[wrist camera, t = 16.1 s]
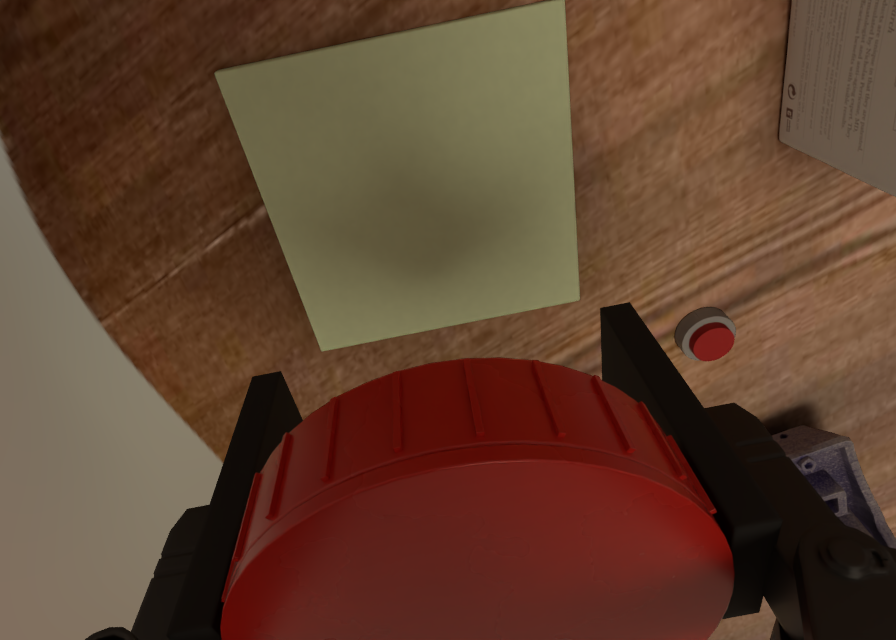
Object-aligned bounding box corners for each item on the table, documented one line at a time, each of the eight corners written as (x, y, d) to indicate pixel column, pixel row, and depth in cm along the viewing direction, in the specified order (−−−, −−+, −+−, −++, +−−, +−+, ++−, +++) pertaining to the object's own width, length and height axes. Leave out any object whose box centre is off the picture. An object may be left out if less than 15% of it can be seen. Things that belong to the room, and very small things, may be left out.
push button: (729, 339, 32) (743, 354, 31) (679, 357, 32) (690, 373, 31) (724, 299, 30) (738, 314, 29) (671, 319, 31) (683, 334, 30)
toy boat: (707, 434, 36) (843, 638, 25) (828, 388, 35) (1026, 582, 24) (743, 549, 44) (859, 743, 33) (843, 515, 43) (997, 705, 32)
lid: (666, 600, 13) (711, 703, 11) (322, 662, 13) (311, 773, 12) (696, 309, 9) (780, 403, 7) (166, 408, 9) (107, 526, 7)
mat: (217, 69, 22) (212, 72, 22) (561, -3, 22) (565, -3, 21) (322, 345, 30) (321, 352, 29) (577, 295, 29) (580, 300, 29)
